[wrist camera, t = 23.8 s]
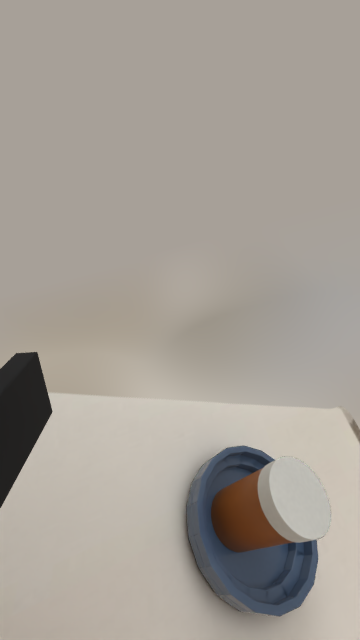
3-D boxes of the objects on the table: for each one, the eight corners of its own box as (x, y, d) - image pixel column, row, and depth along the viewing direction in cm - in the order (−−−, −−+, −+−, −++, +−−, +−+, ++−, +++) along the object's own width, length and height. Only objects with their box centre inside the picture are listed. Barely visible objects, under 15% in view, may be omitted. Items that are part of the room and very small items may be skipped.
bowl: (159, 494, 31) (171, 486, 28) (243, 436, 40) (257, 426, 37) (239, 660, 25) (262, 667, 22) (317, 547, 34) (339, 544, 31)
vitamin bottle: (199, 505, 31) (256, 477, 24) (236, 476, 35) (294, 444, 27) (233, 568, 28) (308, 559, 21) (268, 529, 32) (342, 510, 25)
